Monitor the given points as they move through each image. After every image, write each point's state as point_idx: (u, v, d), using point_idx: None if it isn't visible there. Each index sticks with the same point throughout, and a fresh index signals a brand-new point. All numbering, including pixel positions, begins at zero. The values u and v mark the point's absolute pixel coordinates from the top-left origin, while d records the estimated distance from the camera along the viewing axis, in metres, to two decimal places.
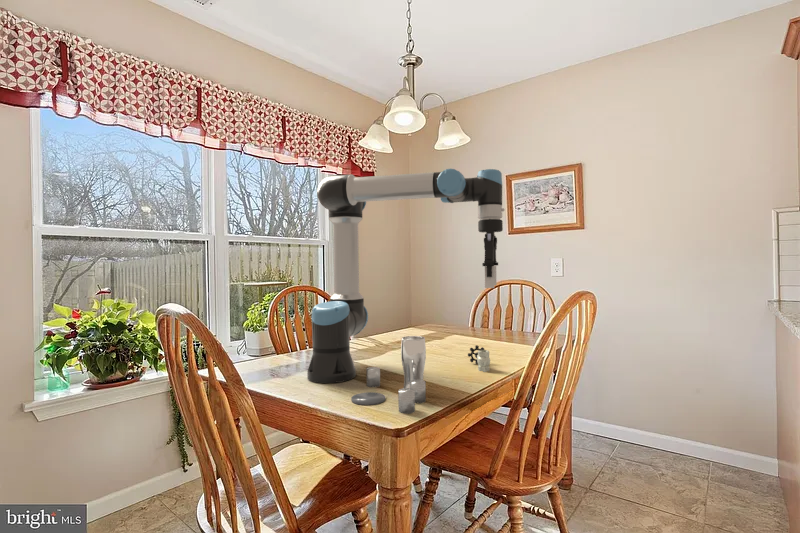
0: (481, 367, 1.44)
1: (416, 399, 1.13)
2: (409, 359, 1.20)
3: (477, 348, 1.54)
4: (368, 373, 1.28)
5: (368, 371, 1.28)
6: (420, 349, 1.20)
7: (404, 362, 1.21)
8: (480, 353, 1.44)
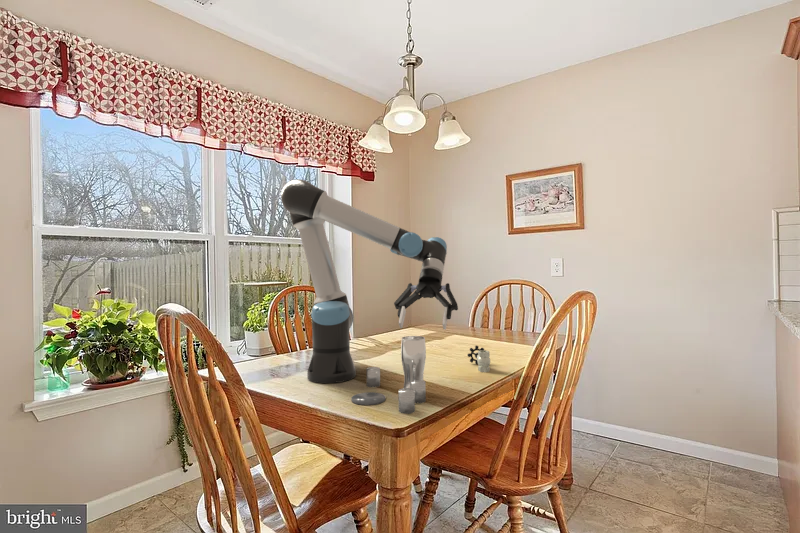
0: (481, 367, 1.43)
1: (416, 399, 1.13)
2: (409, 359, 1.20)
3: (477, 348, 1.54)
4: (368, 373, 1.28)
5: (368, 371, 1.28)
6: (420, 349, 1.20)
7: (404, 362, 1.21)
8: (480, 353, 1.43)
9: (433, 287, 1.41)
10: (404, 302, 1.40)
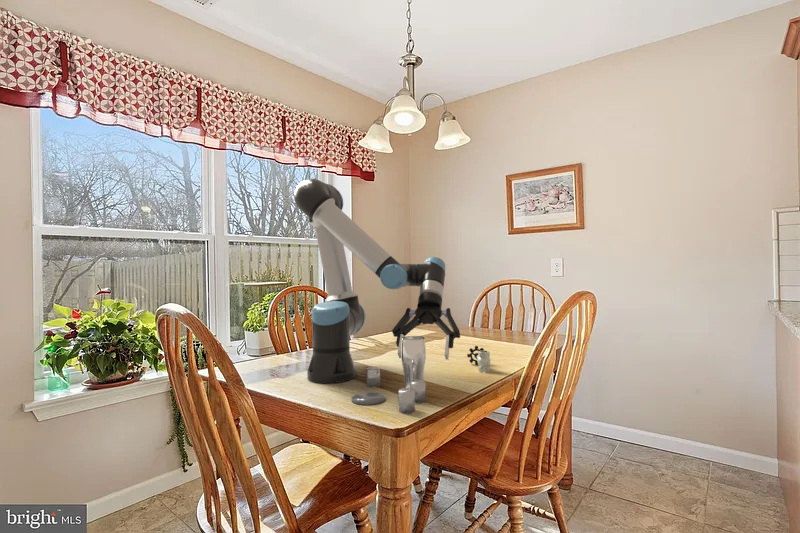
0: (481, 368, 1.43)
1: (416, 399, 1.13)
2: (409, 359, 1.20)
3: (476, 349, 1.53)
4: (368, 373, 1.28)
5: (368, 371, 1.28)
6: (420, 349, 1.20)
7: (404, 362, 1.21)
8: (480, 354, 1.43)
9: (433, 313, 1.33)
10: (403, 329, 1.31)
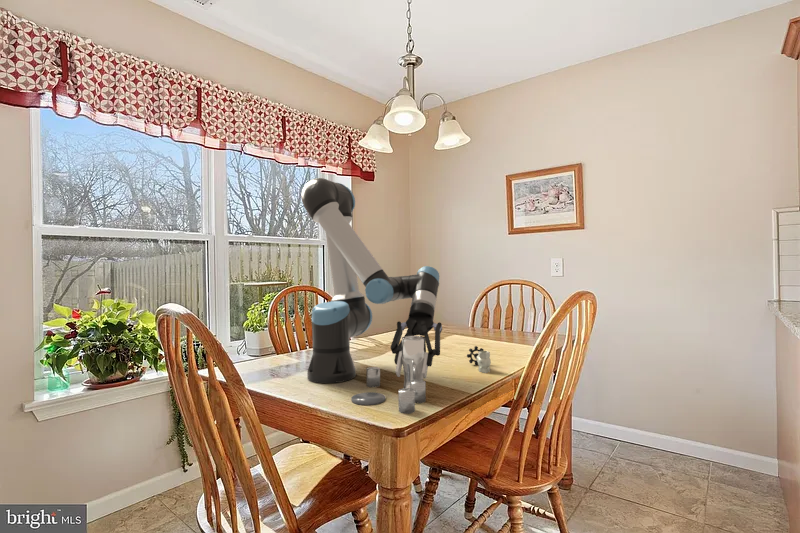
0: (482, 368, 1.42)
1: (416, 399, 1.13)
2: (409, 359, 1.20)
3: (476, 349, 1.53)
4: (368, 373, 1.28)
5: (368, 371, 1.28)
6: (421, 349, 1.20)
7: (404, 362, 1.21)
8: (481, 354, 1.42)
9: (423, 324, 1.29)
10: (400, 345, 1.26)
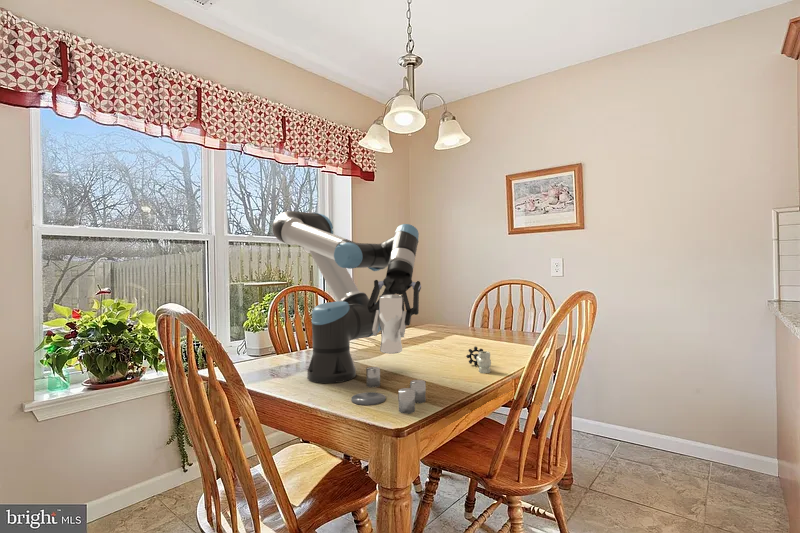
0: (482, 369, 1.42)
1: (416, 399, 1.13)
2: (387, 318, 1.16)
3: (476, 349, 1.52)
4: (368, 373, 1.28)
5: (368, 371, 1.28)
6: (399, 308, 1.16)
7: (381, 321, 1.17)
8: (481, 354, 1.42)
9: (401, 283, 1.24)
10: (378, 304, 1.21)
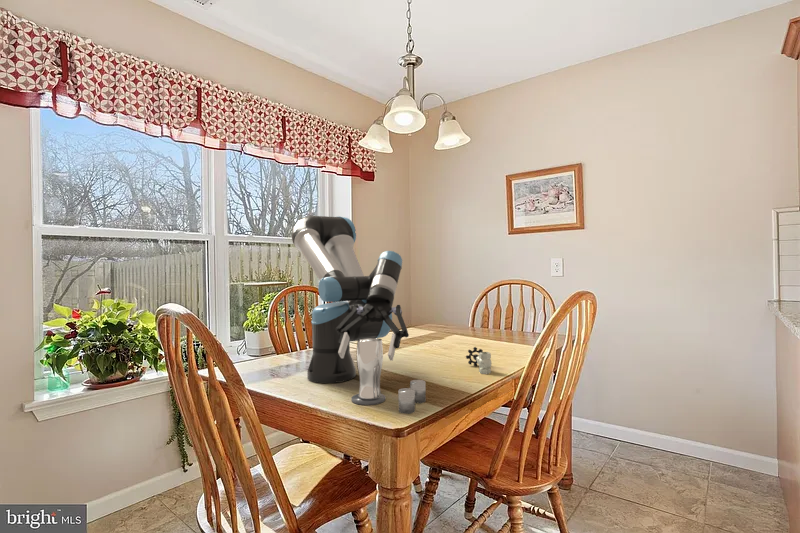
0: (483, 369, 1.41)
1: (416, 399, 1.13)
2: (364, 362, 1.14)
3: (475, 350, 1.51)
4: None
5: None
6: (376, 351, 1.14)
7: (359, 365, 1.15)
8: (482, 355, 1.41)
9: (381, 309, 1.22)
10: (347, 327, 1.20)
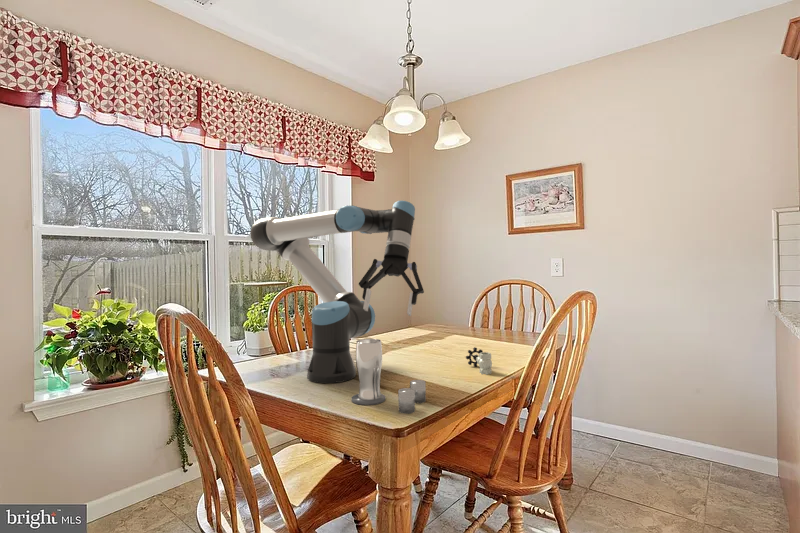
0: (483, 370, 1.40)
1: (416, 399, 1.13)
2: (363, 363, 1.13)
3: (475, 350, 1.51)
4: None
5: None
6: (375, 353, 1.13)
7: (358, 367, 1.14)
8: (482, 355, 1.40)
9: (399, 267, 1.35)
10: (369, 283, 1.36)
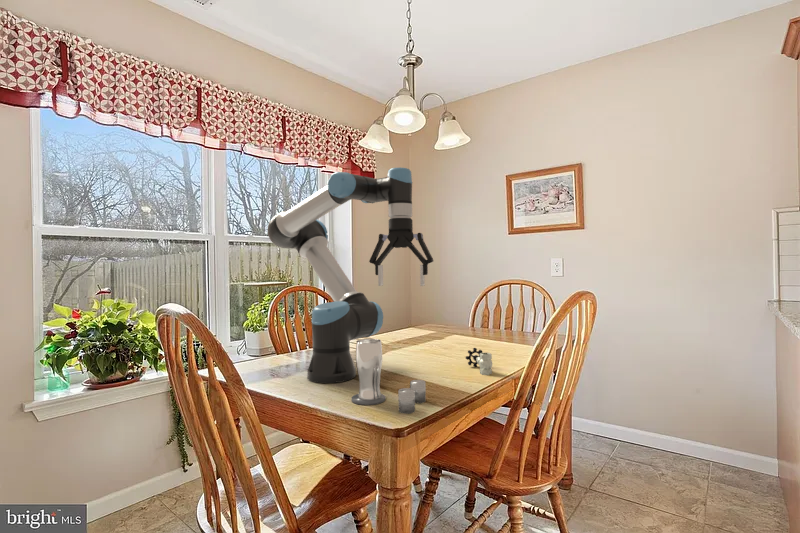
0: (484, 370, 1.40)
1: (416, 399, 1.13)
2: (363, 363, 1.13)
3: (475, 351, 1.50)
4: None
5: None
6: (375, 353, 1.13)
7: (358, 367, 1.14)
8: (483, 356, 1.40)
9: (405, 240, 1.36)
10: (379, 260, 1.39)
